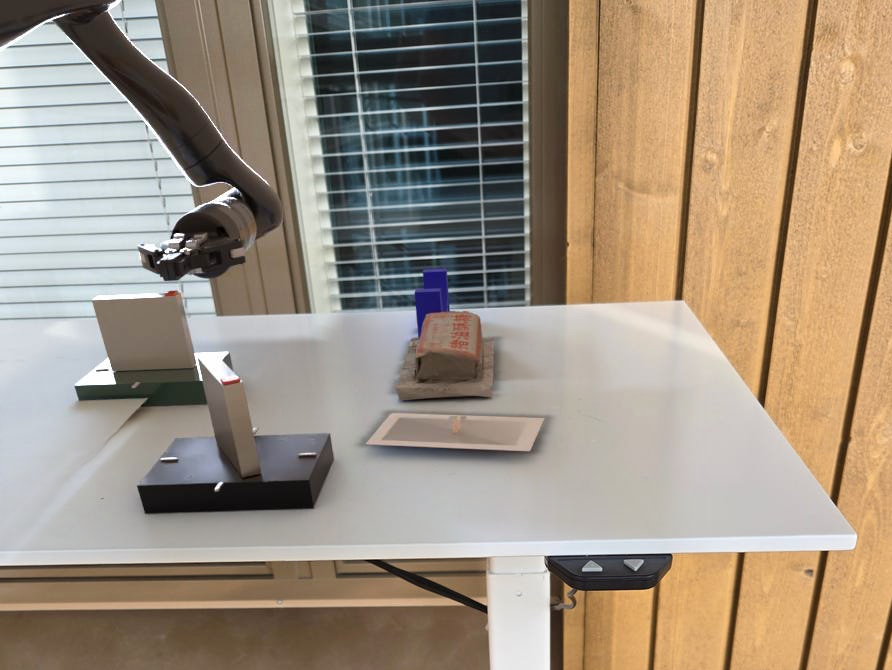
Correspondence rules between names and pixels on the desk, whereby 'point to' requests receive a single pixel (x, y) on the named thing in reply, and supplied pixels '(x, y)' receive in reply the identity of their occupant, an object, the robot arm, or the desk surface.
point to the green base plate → (147, 384)
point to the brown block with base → (448, 359)
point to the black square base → (238, 475)
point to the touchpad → (458, 431)
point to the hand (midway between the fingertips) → (168, 271)
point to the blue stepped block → (432, 295)
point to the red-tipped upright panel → (229, 414)
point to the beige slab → (145, 331)
